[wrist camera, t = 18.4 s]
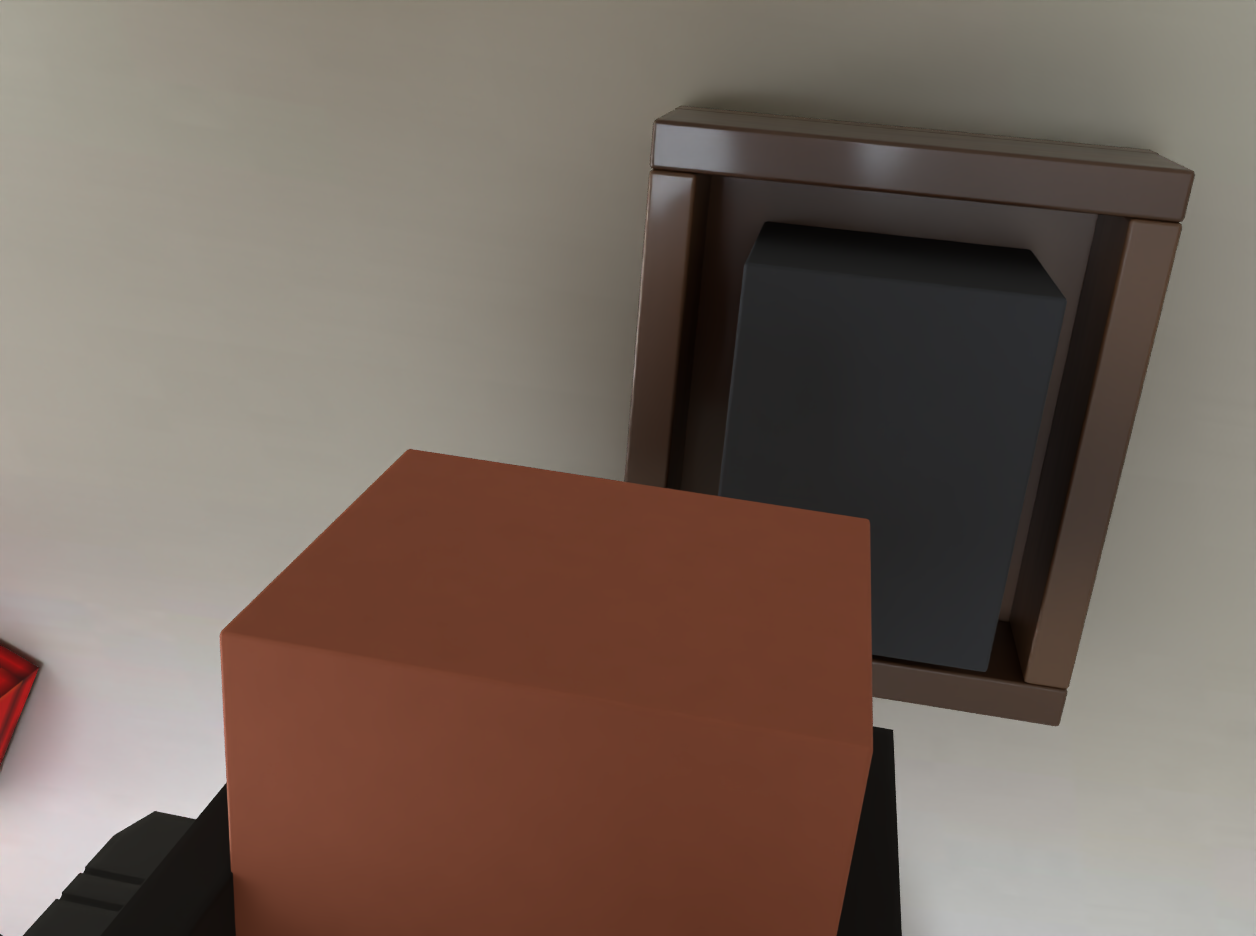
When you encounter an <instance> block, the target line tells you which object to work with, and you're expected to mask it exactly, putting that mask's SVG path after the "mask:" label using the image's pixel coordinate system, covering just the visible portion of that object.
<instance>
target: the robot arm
mask: <svg viewBox="0 0 1256 936" xmlns="http://www.w3.org/2000/svg"><path fill="white" fill-rule="evenodd" d="M0 936H2V935H1V934H0ZM23 936H236V928H235V907H234V886H233V873H232V872H231V861H230V840H229V820H228V799H227V783H226V784H225V785H224V786H223V788H222V789H221V790H220V791H219V792H218V794H217V795H216V796H215V797H214V798H213V800H212V801H211V802H210V803H209V805H208V806H207V807H206V808H205V809H204V811H203V812H202V813H201V814H200V815H199V817H198V818H197V819H191V818H186V817H181V816H176V815H171V814H166V813H161V812H157V811H154V812H153V813H151V814H149V815H148V816H146V817H144V818H142V819H141V820H139V821H137V822H136V823H134V824H132V825H131V826H129V827H127V828H126V829H124V830H122V831H120V832H119V833H117V834H115V835H114V836H113V837H112V838H111V839H110V840H109V841H108V842H107V844H106V845H105V846H104V847H103V848H102V849H101V850H100V851H99V852H98V853H97V855H96V856H95V857H94V858H93V859H92V860H91V861H90V862H89V863H88V864H87V866H86V867H85V871H84V873H79V874H78V875H77V877H76V878H75V879H74V880H73V881H72V882H71V883H70V884H69V885H68V886H67V888H66V889H65V890H64V891H63V892H62V896H61V898H60V899H56V900H55V901H54V902H53V903H52V904H51V905H50V906H49V907H48V908H47V910H46V911H45V912H44V913H43V914H42V915H41V916H40V917H39V918H38V919H37V921H36V922H35V923H34V924H33V925H32V926H31V927H30V928H29V929H28V930H27V932H26V933H25V934H24V935H23ZM837 936H902V930H901V906H900V882H899V858H898V835H897V811H896V787H895V763H894V740H893V730H891V729H885V728H879V727H874V726H873V754H872V759H871V764H870V769H869V774H868V779H867V784H866V789H865V794H864V799H863V804H862V809H861V814H860V819H859V825H858V830H857V835H856V840H855V845H854V850H853V855H852V860H851V865H850V870H849V875H848V880H847V885H846V890H845V895H844V900H843V905H842V911H841V916H840V921H839V926H838V931H837Z"/></svg>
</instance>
